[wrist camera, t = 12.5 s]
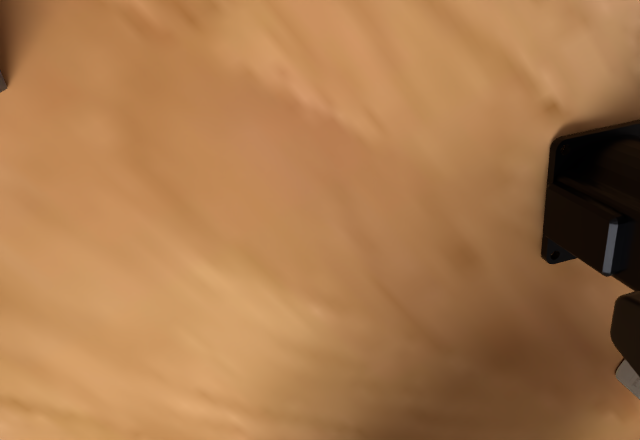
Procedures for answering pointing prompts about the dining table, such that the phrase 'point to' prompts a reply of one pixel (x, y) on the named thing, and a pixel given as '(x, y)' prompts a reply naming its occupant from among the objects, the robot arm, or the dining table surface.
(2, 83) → the podium
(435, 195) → the dining table surface
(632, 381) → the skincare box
